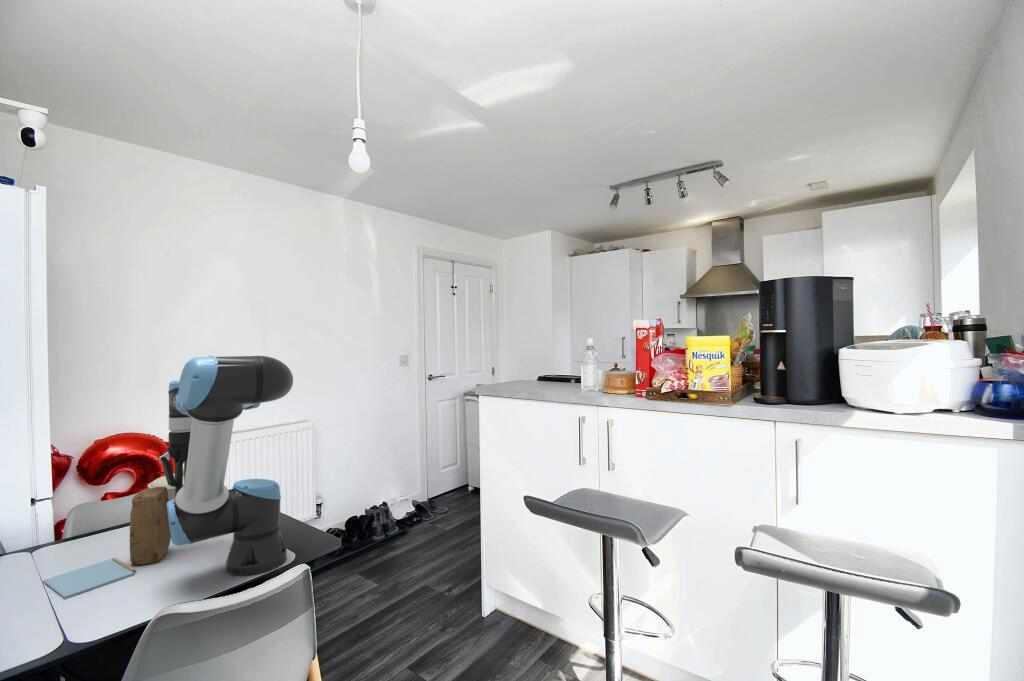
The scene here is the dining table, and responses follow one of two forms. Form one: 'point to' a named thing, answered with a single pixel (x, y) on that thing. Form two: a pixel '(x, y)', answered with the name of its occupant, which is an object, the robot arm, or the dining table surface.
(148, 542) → the pitted brown rock
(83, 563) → the dining table surface
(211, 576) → the dining table surface
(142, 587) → the dining table surface
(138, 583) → the dining table surface
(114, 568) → the book
